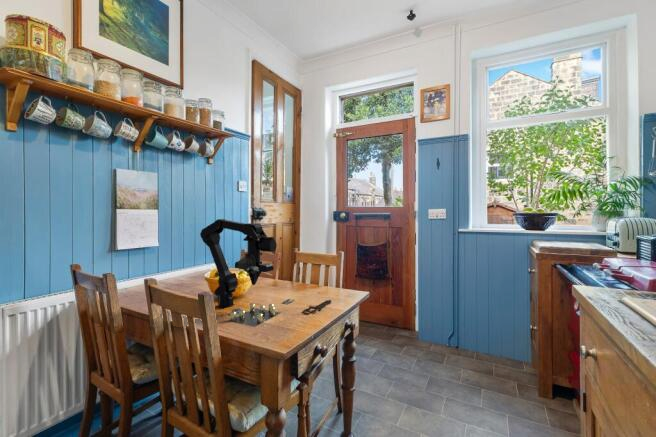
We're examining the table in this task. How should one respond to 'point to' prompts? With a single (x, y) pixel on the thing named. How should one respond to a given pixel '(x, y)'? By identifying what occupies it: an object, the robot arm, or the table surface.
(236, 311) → the nut
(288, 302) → the pliers
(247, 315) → the spacer plate
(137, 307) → the table surface
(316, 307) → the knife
